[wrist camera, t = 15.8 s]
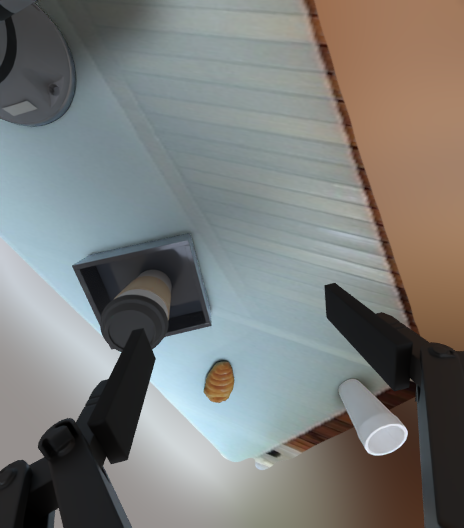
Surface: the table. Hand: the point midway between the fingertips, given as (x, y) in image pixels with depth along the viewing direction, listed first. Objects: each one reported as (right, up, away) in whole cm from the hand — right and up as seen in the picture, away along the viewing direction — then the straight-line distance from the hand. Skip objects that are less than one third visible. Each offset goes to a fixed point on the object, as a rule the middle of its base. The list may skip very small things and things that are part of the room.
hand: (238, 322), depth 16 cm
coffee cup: (-16, 0, +28) cm, 32 cm away
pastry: (-4, -23, +38) cm, 44 cm away
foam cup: (+30, -28, +44) cm, 61 cm away
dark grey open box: (-16, 0, +29) cm, 33 cm away
